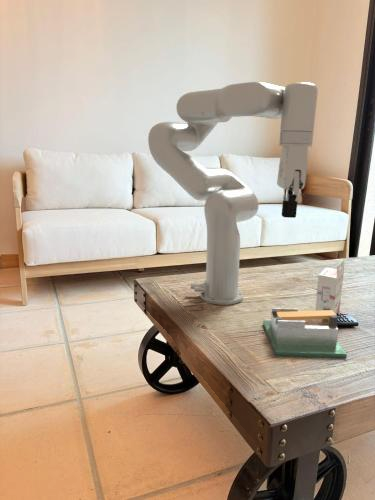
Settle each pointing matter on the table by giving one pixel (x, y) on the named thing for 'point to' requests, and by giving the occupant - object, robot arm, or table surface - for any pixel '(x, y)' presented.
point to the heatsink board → (304, 348)
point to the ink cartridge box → (330, 288)
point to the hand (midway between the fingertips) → (288, 216)
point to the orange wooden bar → (306, 315)
